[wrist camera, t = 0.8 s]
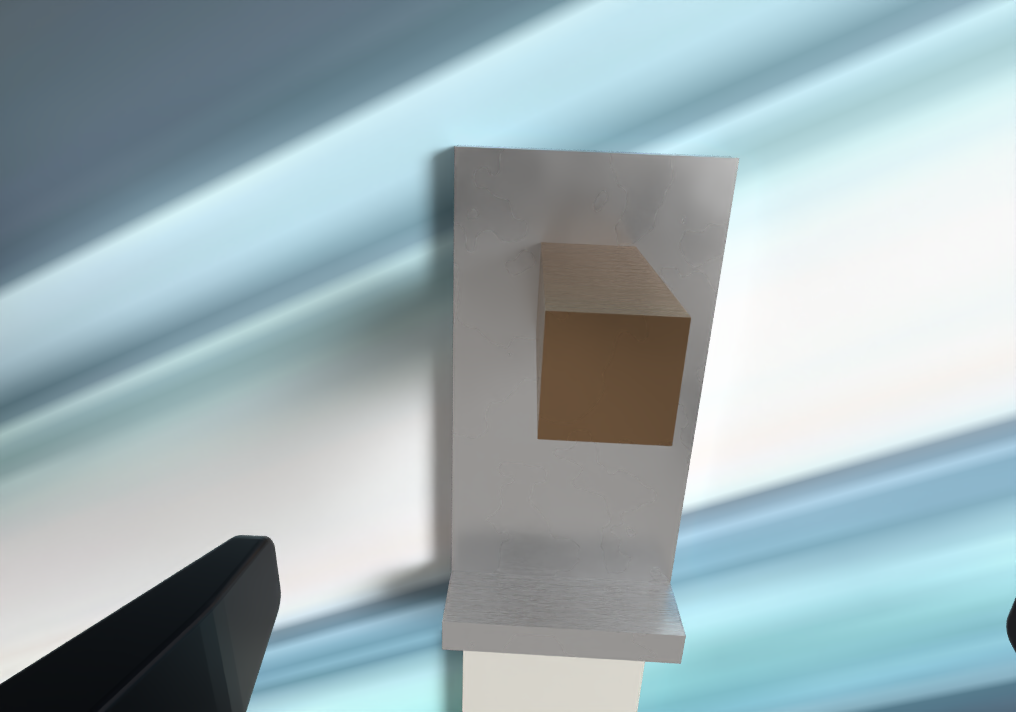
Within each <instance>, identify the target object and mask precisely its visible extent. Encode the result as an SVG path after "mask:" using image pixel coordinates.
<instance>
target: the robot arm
mask: <svg viewBox="0 0 1016 712" xmlns="http://www.w3.org/2000/svg"><path fill="white" fill-rule="evenodd" d="M280 598H281V590H280V582H279V575H278V567H277V560H276V553H275V547H274V543H273V541H272V540H271V539H270V538H269V537H267V536H251V535H238V536H235V537H233V538H231V539H229V540H228V541H226V542H224V543H223V544H221V545H220V546H218V547H217V548H215V549H213V550H212V551H210V552H209V553H207V554H205V555H204V556H202V557H201V558H199V559H198V560H196V561H194V562H193V563H191V564H190V565H188V566H186V567H185V568H183V569H182V570H180V571H179V572H177V573H175V574H174V575H172V576H171V577H169V578H167V579H166V580H164V581H163V582H161V583H160V584H158V585H156V586H155V587H153V588H152V589H150V590H148V591H147V592H145V593H144V594H142V595H141V596H139V597H137V598H136V599H134V600H133V601H131V602H129V603H128V604H126V605H125V606H123V607H122V608H120V609H118V610H117V611H115V612H114V613H112V614H110V615H109V616H107V617H106V618H104V619H103V620H101V621H99V622H98V623H96V624H95V625H93V626H91V627H90V628H88V629H87V630H85V631H84V632H82V633H80V634H79V635H77V636H76V637H74V638H72V639H71V640H69V641H68V642H66V643H65V644H63V645H61V646H60V647H58V648H57V649H55V650H53V651H52V652H50V653H49V654H47V655H46V656H44V657H42V658H41V659H39V660H38V661H36V662H34V663H33V664H31V665H30V666H28V667H27V668H25V669H23V670H22V671H20V672H19V673H17V674H15V675H14V676H12V677H11V678H9V679H8V680H6V681H4V682H3V683H1V684H0V712H246V711H247V707H248V704H249V701H250V698H251V695H252V692H253V689H254V685H255V682H256V679H257V676H258V673H259V670H260V667H261V663H262V660H263V657H264V654H265V651H266V648H267V645H268V642H269V638H270V635H271V632H272V629H273V626H274V623H275V620H276V616H277V613H278V610H279V605H280ZM1006 629H1007V634H1008V638H1009V641H1010V643H1011V645H1012V647H1013V648H1014V650H1015V652H1016V598H1015V601H1014V603H1013V605H1012V608H1011V610H1010V612H1009V615H1008V618H1007V623H1006Z"/></svg>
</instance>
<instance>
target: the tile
mask: <svg viewBox="0 0 1016 712" xmlns="http://www.w3.org/2000/svg"><path fill="white" fill-rule="evenodd" d="M644 663H645V661H629V660H612V659H595V658H578V657H561V656H544V655H527V654H510V653H494V652H477V651H463V697H462V712H637V709H638V702H639V696H640V689H641V683H642V676H643V670H644Z"/></svg>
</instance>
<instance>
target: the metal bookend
mask: <svg viewBox="0 0 1016 712" xmlns="http://www.w3.org/2000/svg"><path fill="white" fill-rule="evenodd" d="M738 163H739V158H735V157H731V156H709V155H685V154H661V153H637V152H613V151H589V150H565V149H541V148H517V147H494V146H470V145H457V146H454V284H453V428H452V571H451V576H450V582H449V587H448V593H447V598H446V604H445V609H444V615H443V621H442V649H443V650H460V651H477V652H494V653H510V654H527V655H544V656H561V657H578V658H595V659H612V660H629V661H645V662H662V663H679V664H681V659H682V654H683V648H684V643H685V637H686V635H685V632H684V628H683V625H682V621H681V618H680V614H679V611H678V608H677V604H676V601H675V597H674V594H673V591H672V587H671V584H670V581H671V575H672V569H673V563H674V557H675V550H676V544H677V538H678V532H679V526H680V520H681V514H682V507H683V501H684V495H685V489H686V483H687V477H688V470H689V464H690V458H691V452H692V446H693V440H694V434H695V427H696V421H697V415H698V409H699V403H700V397H701V390H702V384H703V378H704V372H705V366H706V360H707V354H708V347H709V341H710V335H711V329H712V323H713V317H714V311H715V304H716V298H717V292H718V286H719V280H720V274H721V267H722V261H723V255H724V249H725V243H726V237H727V231H728V224H729V218H730V212H731V206H732V200H733V194H734V188H735V181H736V175H737V169H738Z"/></svg>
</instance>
